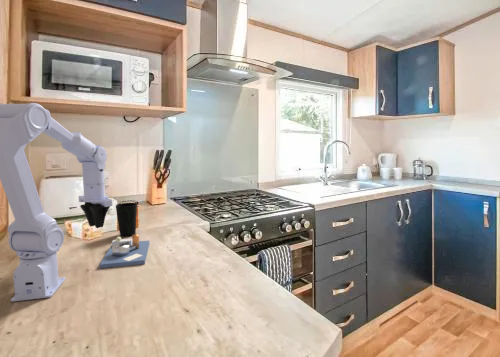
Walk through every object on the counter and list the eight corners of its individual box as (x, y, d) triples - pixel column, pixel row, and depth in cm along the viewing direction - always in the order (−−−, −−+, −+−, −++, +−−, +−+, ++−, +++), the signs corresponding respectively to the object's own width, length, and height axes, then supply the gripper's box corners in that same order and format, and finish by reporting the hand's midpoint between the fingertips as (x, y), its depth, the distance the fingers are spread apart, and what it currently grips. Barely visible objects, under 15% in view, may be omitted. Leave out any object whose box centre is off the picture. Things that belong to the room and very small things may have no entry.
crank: (119, 257, 85) (118, 243, 85) (108, 254, 88) (108, 240, 87) (143, 248, 93) (143, 235, 93) (133, 245, 96) (132, 232, 95)
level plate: (144, 264, 84) (144, 250, 84) (100, 268, 81) (99, 254, 80) (149, 243, 101) (149, 232, 101) (112, 246, 98) (112, 235, 98)
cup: (130, 238, 107) (129, 207, 106) (112, 237, 108) (111, 206, 107) (142, 232, 114) (141, 203, 113) (125, 231, 116) (123, 202, 115)
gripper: (120, 184, 88) (122, 226, 90) (92, 180, 95) (95, 220, 97) (98, 186, 82) (101, 232, 83) (70, 183, 89) (73, 225, 91)
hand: (96, 226), depth 90 cm, fingers open, 3 cm apart
